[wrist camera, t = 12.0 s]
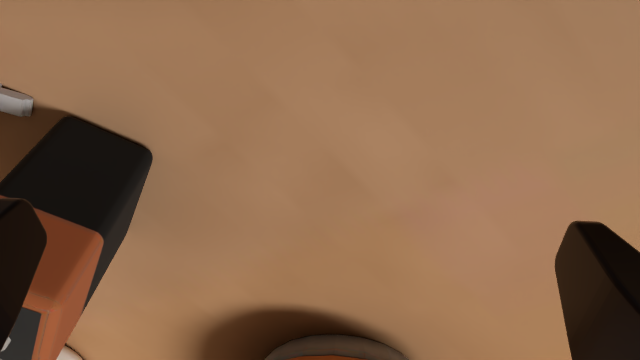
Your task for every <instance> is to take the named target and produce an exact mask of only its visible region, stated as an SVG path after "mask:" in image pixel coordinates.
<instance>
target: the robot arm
mask: <svg viewBox="0 0 640 360" xmlns="http://www.w3.org/2000/svg"><path fill="white" fill-rule="evenodd" d="M46 244H47V233H46V230H45V228H44V227H43V225H42V223H41V221H40V219H39V217H38V216H37V214H36V212H35V210H34V208H33V206H32V205H31V203H30V202H29V201H27V200H26V199H21V198H1V199H0V352H1V350H2V348H3V346H4V344H5V342H6V341H7V339H8V337H9V335H10V333H11V331H12V328H13V326H14V324H15V322H16V320H17V318H18V315H19V313H20V311H21V308H22V305H23V303H24V300H25V298H26V295H27V293H28V290H29V288H30V285H31V283H32V280H33V278H34V275H35V273H36V270H37V268H38V265H39V263H40V260H41V257H42V255H43V252H44V250H45V247H46ZM555 272H556V278H557V283H558V288H559V294H560V299H561V304H562V310H563V315H564V321H565V326H566V331H567V337H568V342H569V347H570V352H571V356H572V360H640V252H639V251H638V250H636V249H635V248H634V247H632V246H631V245H630V244H629V243H627V242H626V241H625V240H624V239H622V238H621V237H620V236H618V235H617V234H616V233H615V232H613V231H612V230H611V229H609V228H608V227H607V226H606V225H604V224H602V223H600V222H592V221H574V222H572V223H571V224H570V225H569V226H568V228H567V231H566V233H565V235H564V238H563V240H562V243H561V245H560V247H559V250H558V252H557V255H556V259H555Z"/></svg>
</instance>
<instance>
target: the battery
mask: <svg viewBox="0 0 640 360" xmlns="http://www.w3.org/2000/svg"><path fill="white" fill-rule="evenodd" d="M152 159H153V158H152V153H151V152H150V151H149V150H148V149H146V148H143V147H141V146H139V145H136V144H134V143H132V142H129V141H127V140H125V139H122V138H120V137H118V136H116V135H113V134H111V133H109V132H106V131H104V130H102V129H99V128H97V127H95V126H92V125H90V124H88V123H85V122H83V121H81V120H78V119H76V118H73V117H70V116H67V117H64V118H62V119H61V120H60V121H59V122H58V123H57V124H56V125H55V126H54V127H53V128H52V129H51V130H50V131H49V132H48V133H47V134H46V135H45V136H44V137H43V138H42V139H41V140H40V141H39V142H38V144H37V145H36V146H35V147H34V148H33V149H32V150H31V151H30V152H29V153H28V154H27V155H26V156H25V157H24V158H23V159H22V160H21V161H20V162H19V163H18V165H17V166H16V167H15V168H14V169H13V170H12V171H11V172H10V173H9V174H8V175H7V176H6V177H5V178H4V179H3V180H2V181H1V182H0V199H1V198H21V199H26V200H27V201H29V202H30V203H31V205H32V206H33V208H34V210H35V212H36V214H37V216H38V217H39V219H40V221H41V223H42V225H43V227H44V228H45V230H46V233H47V244H46V247H45V250H44V252H43V255H42V257H41V260H40V263H39V265H38V268H37V270H36V273H35V275H34V278H33V280H32V283H31V285H30V288H29V290H28V293H27V295H26V298H25V300H24V303H23V305H22V308H21V311H20V313H19V315H18V318H17V320H16V322H15V324H14V326H13V328H12V331H11V333H10V335H9V337H8V339H7V341H6V342H5V344H4V346H3V348H2V350H1V352H0V360H56V359H57V357H58V356H59V354H60V352H61V350H62V349H63V347H64V345H65V343H66V341H67V340H68V338H69V336H70V334H71V332H72V331H73V329H74V327H75V325H76V323H77V322H78V320H79V318H80V316H81V315H82V313H83V311H84V309H85V307H86V306H87V304H88V302H89V300H90V298H91V297H92V295H93V293H94V291H95V289H96V288H97V286H98V284H99V282H100V281H101V279H102V277H103V275H104V273H105V272H106V270H107V268H108V266H109V264H110V263H111V261H112V259H113V257H114V255H115V254H116V252H117V250H118V248H119V247H120V245H121V243H122V241H123V239H124V237H125V236H126V233H127V231H128V228H129V225H130V222H131V220H132V217H133V214H134V211H135V208H136V206H137V203H138V200H139V197H140V194H141V192H142V189H143V186H144V183H145V180H146V178H147V175H148V172H149V169H150V166H151V163H152Z"/></svg>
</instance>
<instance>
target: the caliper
mask: <svg viewBox="0 0 640 360" xmlns="http://www.w3.org/2000/svg"><path fill="white" fill-rule="evenodd" d="M32 106H33V98H32V97H31V96H28V95H25V94H22V93H19V92H16V91H12V90H9V89H5V88H2V84H1V83H0V111H2V112H6V113H9V114H13V115H16V116H20V117H22V116H31V114H32Z"/></svg>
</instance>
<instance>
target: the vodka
mask: <svg viewBox="0 0 640 360" xmlns="http://www.w3.org/2000/svg"><path fill="white" fill-rule="evenodd" d="M56 360H83V359H82V358H81V357H80V356H79V355H78V354H77V353H76V352H75V351H73V350H72V349H70V348H69V347H67V346H66V345H64V347H63V349H62V350H61V352H60V354H59V356H58V357H57V359H56Z"/></svg>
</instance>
